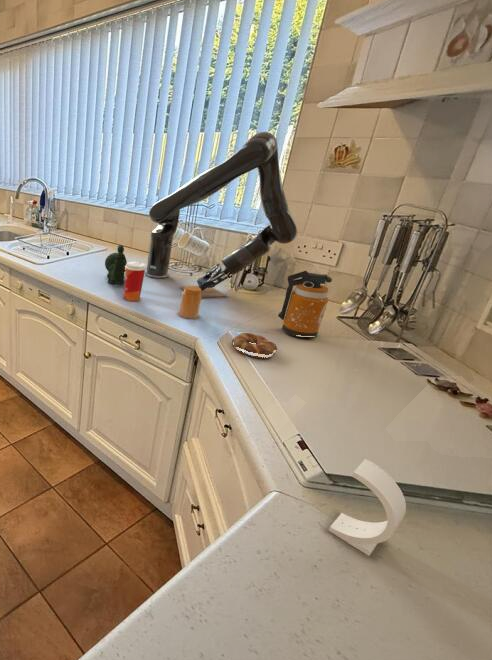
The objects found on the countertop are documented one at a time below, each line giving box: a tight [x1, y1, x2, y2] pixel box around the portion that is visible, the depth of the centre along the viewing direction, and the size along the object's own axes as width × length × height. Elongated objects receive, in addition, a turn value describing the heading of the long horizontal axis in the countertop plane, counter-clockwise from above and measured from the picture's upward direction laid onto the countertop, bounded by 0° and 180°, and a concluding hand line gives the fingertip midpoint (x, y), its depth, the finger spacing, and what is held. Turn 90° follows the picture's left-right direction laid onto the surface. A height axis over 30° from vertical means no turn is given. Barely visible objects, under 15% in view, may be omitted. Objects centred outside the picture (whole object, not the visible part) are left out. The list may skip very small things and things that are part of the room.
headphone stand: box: [328, 458, 407, 557], centre depth 58 cm, size 5×6×12 cm
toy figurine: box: [104, 244, 128, 286], centre depth 171 cm, size 9×19×25 cm
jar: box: [178, 285, 202, 320], centre depth 136 cm, size 6×6×10 cm
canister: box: [277, 270, 333, 339], centre depth 120 cm, size 9×11×20 cm
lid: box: [197, 277, 216, 288], centre depth 157 cm, size 6×6×2 cm
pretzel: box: [231, 332, 278, 360], centre depth 114 cm, size 12×11×4 cm
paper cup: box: [123, 261, 147, 302], centre depth 151 cm, size 8×8×14 cm
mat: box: [180, 285, 227, 299], centre depth 158 cm, size 12×12×1 cm
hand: (199, 285), depth 158 cm, fingers closed on lid, 6 cm apart
